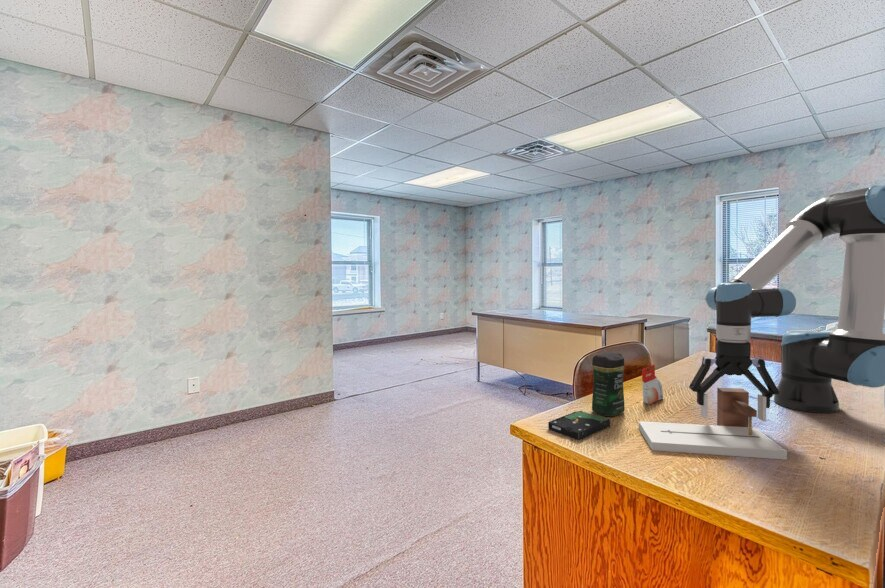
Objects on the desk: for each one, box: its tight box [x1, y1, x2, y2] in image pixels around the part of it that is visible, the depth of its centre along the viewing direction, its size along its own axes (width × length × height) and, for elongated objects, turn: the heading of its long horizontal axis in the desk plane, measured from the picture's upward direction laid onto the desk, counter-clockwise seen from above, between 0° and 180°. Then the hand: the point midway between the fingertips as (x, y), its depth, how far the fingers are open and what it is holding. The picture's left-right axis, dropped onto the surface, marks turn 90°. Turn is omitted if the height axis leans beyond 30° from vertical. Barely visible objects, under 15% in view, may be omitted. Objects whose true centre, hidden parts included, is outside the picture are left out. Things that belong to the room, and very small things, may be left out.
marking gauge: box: [716, 387, 758, 435], centre depth 104 cm, size 6×14×11 cm, turn 166°
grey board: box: [638, 420, 788, 461], centre depth 101 cm, size 28×14×2 cm, turn 76°
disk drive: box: [548, 410, 611, 441], centre depth 113 cm, size 10×3×15 cm
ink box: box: [641, 364, 664, 405], centre depth 134 cm, size 3×9×12 cm, turn 128°
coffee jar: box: [591, 351, 626, 417], centre depth 124 cm, size 10×8×19 cm
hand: (732, 418), depth 108 cm, fingers open, 13 cm apart
